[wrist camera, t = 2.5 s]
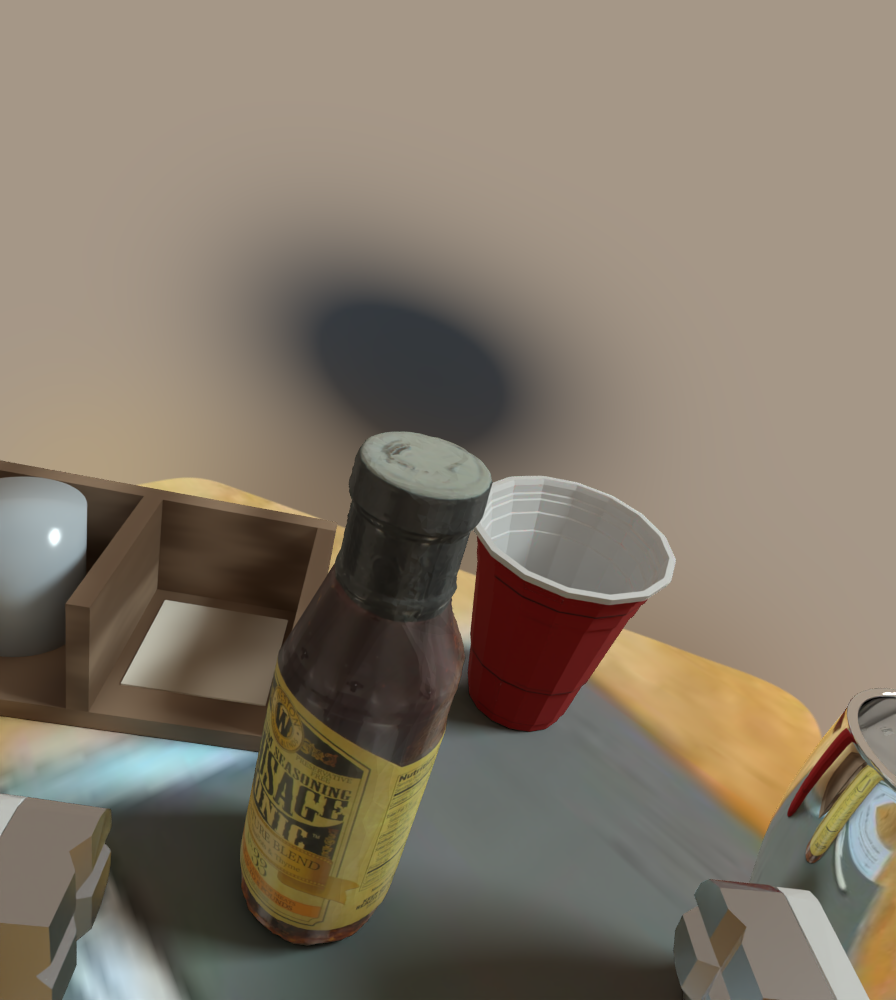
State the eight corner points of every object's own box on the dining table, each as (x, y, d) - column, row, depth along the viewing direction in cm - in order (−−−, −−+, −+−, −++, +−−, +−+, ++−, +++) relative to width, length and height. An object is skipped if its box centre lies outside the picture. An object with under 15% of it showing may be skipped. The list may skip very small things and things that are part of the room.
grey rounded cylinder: (-63, 646, 36) (-76, 522, 32) (-4, 581, 41) (-10, 468, 37) (58, 665, 36) (57, 545, 33) (102, 598, 41) (104, 489, 38)
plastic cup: (404, 735, 39) (457, 543, 34) (441, 620, 48) (487, 456, 43) (605, 797, 38) (692, 611, 33) (602, 668, 48) (669, 508, 43)
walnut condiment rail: (-154, 693, 33) (-178, 564, 30) (-24, 562, 43) (-32, 454, 40) (291, 756, 36) (312, 643, 33) (319, 619, 46) (337, 522, 43)
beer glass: (740, 1162, 25) (980, 880, 18) (639, 957, 31) (795, 684, 24) (889, 1115, 28) (1148, 851, 21) (770, 933, 33) (944, 680, 27)
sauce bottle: (210, 853, 31) (267, 410, 22) (341, 797, 34) (434, 402, 26) (281, 998, 26) (387, 521, 18) (421, 916, 30) (565, 492, 21)
